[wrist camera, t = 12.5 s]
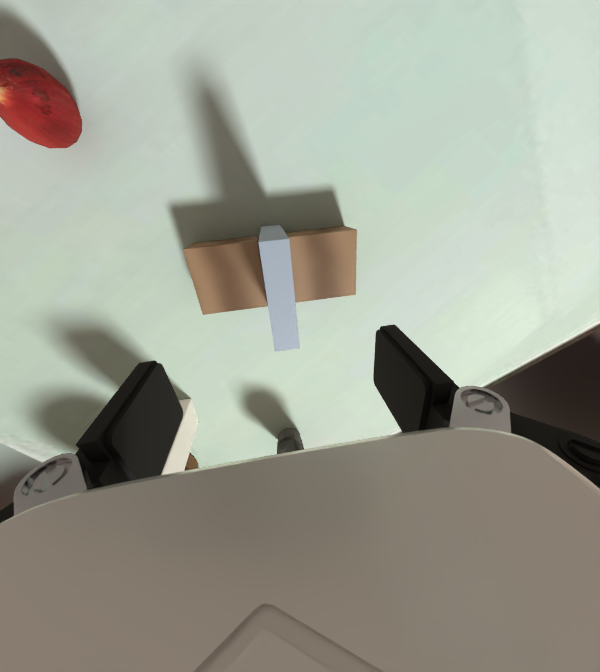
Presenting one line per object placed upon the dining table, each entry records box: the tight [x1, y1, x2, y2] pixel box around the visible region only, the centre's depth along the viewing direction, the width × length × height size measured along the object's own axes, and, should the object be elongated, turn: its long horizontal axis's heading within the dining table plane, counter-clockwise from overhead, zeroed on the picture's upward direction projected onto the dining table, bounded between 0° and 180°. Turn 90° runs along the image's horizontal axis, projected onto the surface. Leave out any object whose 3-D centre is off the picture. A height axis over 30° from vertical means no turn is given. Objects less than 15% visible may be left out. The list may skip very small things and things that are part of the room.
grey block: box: [258, 225, 300, 351], centre depth 28 cm, size 2×10×14 cm, turn 5°
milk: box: [161, 399, 199, 475], centre depth 35 cm, size 6×6×22 cm
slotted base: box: [183, 226, 357, 315], centre depth 33 cm, size 20×8×5 cm, turn 95°
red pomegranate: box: [0, 59, 82, 148], centre depth 22 cm, size 6×6×8 cm
